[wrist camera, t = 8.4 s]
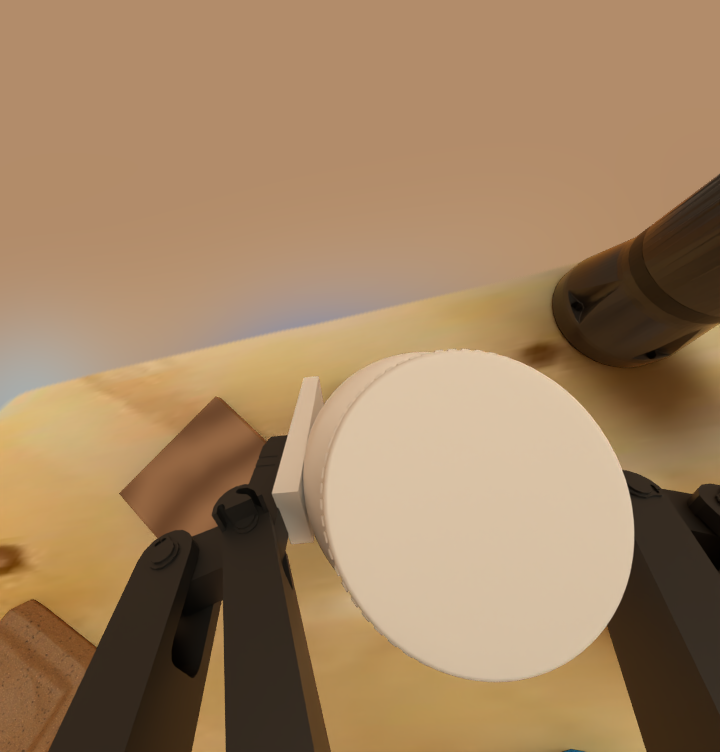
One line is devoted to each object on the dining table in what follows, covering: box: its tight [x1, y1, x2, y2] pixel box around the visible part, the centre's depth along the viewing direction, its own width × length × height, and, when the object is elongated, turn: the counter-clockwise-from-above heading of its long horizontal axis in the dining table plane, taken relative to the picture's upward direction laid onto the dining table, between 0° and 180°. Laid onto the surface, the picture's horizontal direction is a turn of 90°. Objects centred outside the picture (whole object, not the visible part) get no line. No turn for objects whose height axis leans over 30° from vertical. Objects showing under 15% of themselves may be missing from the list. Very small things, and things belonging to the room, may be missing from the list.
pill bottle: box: [303, 349, 634, 682], centre depth 12 cm, size 8×8×15 cm
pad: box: [119, 397, 266, 538], centre depth 29 cm, size 14×14×1 cm
